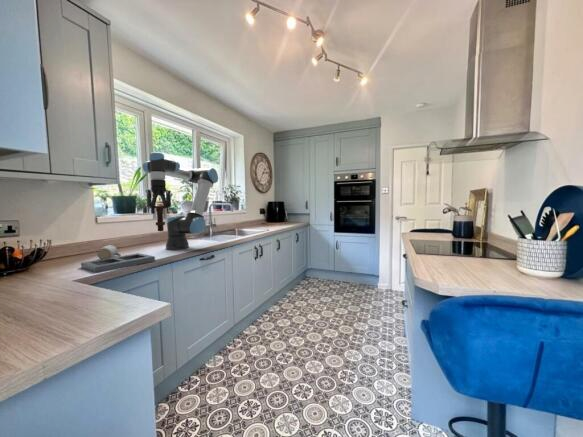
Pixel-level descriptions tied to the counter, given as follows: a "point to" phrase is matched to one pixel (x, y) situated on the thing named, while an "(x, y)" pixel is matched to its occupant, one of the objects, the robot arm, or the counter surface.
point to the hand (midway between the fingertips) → (160, 218)
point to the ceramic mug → (108, 252)
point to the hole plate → (116, 262)
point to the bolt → (160, 217)
